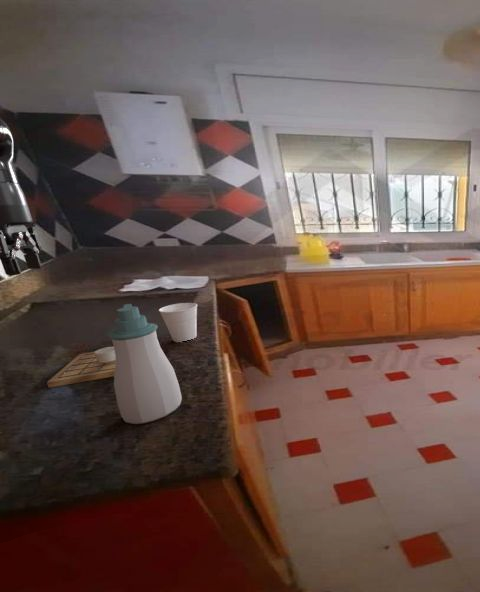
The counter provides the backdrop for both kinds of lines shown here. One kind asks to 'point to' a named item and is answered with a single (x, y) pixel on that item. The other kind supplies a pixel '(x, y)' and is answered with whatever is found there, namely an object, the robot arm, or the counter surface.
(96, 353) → the white short cylinder
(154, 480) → the counter surface
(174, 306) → the cup
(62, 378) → the board
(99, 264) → the counter surface
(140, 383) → the soap bottle
